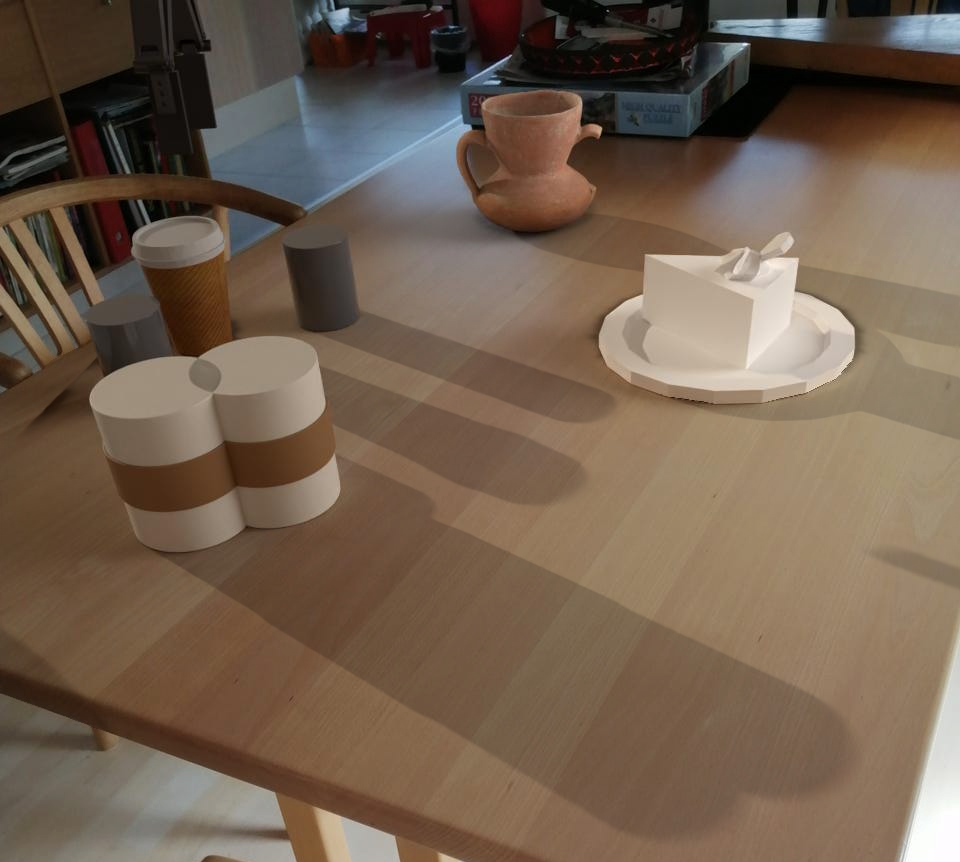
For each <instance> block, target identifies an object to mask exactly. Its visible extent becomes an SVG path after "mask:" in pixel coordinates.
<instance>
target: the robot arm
mask: <svg viewBox="0 0 960 862" xmlns="http://www.w3.org/2000/svg"><path fill="white" fill-rule="evenodd" d="M128 1H129V11H130V19H131V30H132V39H133V48H134V49H133V50H134V60H131V61H132V68H133V70H134V73H135V75H136V74H144V76H145V80H146V85H147V91H148V96H149V100H150V106H151V111H152V115H153V120H154V125H155V130H156V134H157V140H158V145H159V149H160V154H161V157H164V156H165V157H166V156H180V155H193V154H194V147H193V142H192V137H191V133H190V131H193V130H212V129H217V128H218V125H217V119H216V112H215V108H214V101H213V95H212V88H211V83H210V77H209V72H208V67H207V60H206V54H205V53H208V52H209V53H211V52H212V50H213V47H212V41H211V39H209V38H208V39H207V33H206V32H205V28H204V24H203V20H202V16H201V12H200V8H199V4H198V1H197V0H128ZM174 46H175V49H176V51H177V53H178V54H175V55H174ZM174 58H175V61H174ZM175 63H176V69H177V70H175Z"/></svg>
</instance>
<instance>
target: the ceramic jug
mask: <svg viewBox="0 0 960 862" xmlns="http://www.w3.org/2000/svg"><path fill="white" fill-rule="evenodd" d="M480 109H481V116H482V121H483V126H484V129H485V131H483V130H479V129H471V130H469V131H467V132H464V134H462V135H461V136H460V138H459V139H458V141H457V143H456V149H455V158H456V164H457V168H458V171H459V174H460V175H461V177H462V179H463V181H464V182H465V184H466V186H467V187H468V190H469V191H470V192H471V198H472V201H473V203H474V204H475V206H476V208H477V209H478V211H479V213H480V214H481V215H482V216H483V217H484V218H485V219H486V220H487V221H489V222H490V223H492V224H493V225H495V226H497V227H501V228H503V229H506V230H510V231H514V232H522V233H538V232H547V231H552V230H556V229H560V228H562V227H565V226H568V225H569V224H571V223H574V222H576V220H578V219H579V218H580V217H582V216H583V215H584V214H585V213H586V212H587V210H588V208H589V206H590V205H591V204H592V201H593V199H594V198H595V196H596V194H597V187H596V186H595V185H594V184H592V183H589V181H588V179H587V178H586V177H585V176H584V175H582V174H581V173H580V172H578V171H577V170H576V169H574V168H573V167H571V166H570V165H569V164H567V163H568V159H569V157H570V154H571V152H572V149H573V147H574V146H575V145H576V144H578V143H579V142H580V141H582V140H583V139H585V138H589V137H593V138H595V139H596V140H599V139H600V136H601V135H602V131H603V127H602V126H600V125H598V124H595V123H588V124H585V125H583V126H581V119H582V112H583V100H582V97H581V96H580V95H578V94H577V93H574V92H570V91H565V90H560V91H559V90H555V89H554V90H553V89H538V90H530V91H520V92H515V93H507V94H499V95H494V96H492V97H488V98H486V99H485V100H484V101H482V102H481V105H480ZM472 144H477V145H480V146H481V147H483V148H484V149H486V150H487V151H489V152H491V153H492V154H493V155H494V157H496V160H497V162H498V164H499V168H498V169H497V170H496V171H495V172H494V173H493V174H492V175H491V176H489V177H488V178H487V179H486V180H485V181H484V182H483V183H482V184H481V186H480V187H479V186H478V184H477V182H476V180H475V178H474V176H473V173H472V172H471V168H470V166H469V162H468V148H469V147H470V145H472Z"/></svg>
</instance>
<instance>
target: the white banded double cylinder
mask: <svg viewBox="0 0 960 862" xmlns="http://www.w3.org/2000/svg"><path fill="white" fill-rule="evenodd" d="M174 356H175V355H174ZM319 363H320V362H319V358H318V354H317V351H316V349H315V348H314V347H313V346H312V345H311V344H309V343H308V342H306V341H303V340H301V339H299V338H293V337H290V336H289V337H288V336H280V335H279V336H278V335H263V336H262V335H261V336H252V337H246V338H242V339H235V340H232V342H229V343H226V344H223V345H220V346H218V347H216V348H213V349H211V350H209V351H207V352H206V353H204V354H203V355H199V357H194V356H184V355H183V356H181V355H180V356H179V355H177V356H175V357H163V358H156V359H150V360H146V361H141V362H138V363H134V364H132V365H129V366H126V367H124V368H121V369H119V370H117V371H115V372H113V373H111V374H109V375H108V376H106V377H105V378H104V377H103V378H102V379H101V380H99V381H98V382H97V383H96V384H95V385H94V387H93V388H92V390H91V392H90V394H89V405H90V407H91V410H92V413H93V416H94V419H95V422H96V424H97V427H98V430H99V434H100V436H101V440H102V449H103V454H104V456H105V460H106V461H107V465H108V467H109V471H110V473H111V476H112V479H113V482H114V485H115V488H116V491H117V495H118V496H119V498H120V499H121V500H122V501H123V503H124V506H125V509H126V512H127V514H128V515H127V516H128V517H129V521H130V524H131V525H132V526H131V527H132V528H133V533H134V535H135V537H136V539H137V540H138V541H139V542H140V543H141V544H143V545H144V546H145V547H148V548H150V549H153V550H156V551H159V552H166V553H189V552H196V551H201V550H204V549H208V548H212V547H215V546H217V545H219V544H222V543H224V542H226V541H229V540H230V539H232V538H233V537H235V536H236V535H238V534H240V533H241V532H242V531H243V530H244V529H245V528H246V527H251V528H256V529H280V528H287V527H291V526H296V525H300V524H302V523H305V522H308V521H311V520H313V519H315V518H317V517H319V516H320V515H322V514H323V513H325V512H326V511H328V510H329V509H330V508H331V507H332V506H333V505H334V504H335V503H336V502H337V501H338V498H339V496H340V494H341V490H342V489H341V481H340V480H341V479H340V475H339V470H338V464H337V459H336V446H337V445H336V439H335V433H334V427H333V422H332V416H331V411H330V404H329V400H328V397H327V396H326V394H325V392H324V391H325V390H324V385H323V380H322V375H321V369H320V364H319Z"/></svg>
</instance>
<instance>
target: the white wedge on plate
mask: <svg viewBox="0 0 960 862" xmlns="http://www.w3.org/2000/svg"><path fill="white" fill-rule="evenodd" d="M794 242H795V240H794V237H793V236H792V235H791V233H790V231H784V232H782V233H779V234H777V235H776V236H775V237H774V238H773V239H771V241H770V242H768V244H767V245H765V247H764V248H762V249H761V250H760V252H758V251H757V250H754V249H752V248H749V247H748V246H746V247H741V248H734V249H732V250H731V251H730V252H729V253H726V254H723V255H685V254H683V255H681V254H644V265H643V266H644V268H643V285H642V286H643V288H642V290H643V291H642V294H640V295H638V296H634V297H632V298H630V299H627V300H625V301H623V302H622V303H620V305H619V306H617V307H616V308H615V309H613V310H612V311H611V312H609V313H608V314H607V315H605V318H604V320H603V323H602V326H601V328H600V331H599V334H598V348H599V350H600V353H601V356H602V358H603V361H604V362H605V364H606V366H607V368H609V369H610V370H612V372H614V373H616V374H617V375H618V376H619V377H621V378H623V379H624V380H625V382H627V383H629V384H630V385H634V386H636V387H638V388H642V389H644V390H647V391H650V392H652V393H655V394H658V395H661V394H662V395H661V396H663V397H666V396H667V397H666V398H671V397H675V398H674V399H678V398H684V399H689V400H688V401H691V400H695V401H694V402H698V401H704V402H708V403H707V404H711V403H713V404H712V405H724V404H725V405H726V404H727V405H728V404H729V405H731V404H763V403H769V402H773V401H772V400H774V401H777V400H776V399H779V398H784V397H788V398H790V397H789V396H793V397H795V396H794V395H798V394H803V393H806V392H808V393H810V392H809V391H811V390H813V389H815V388H817V387H819V386H821V385H823V384H825V383H827V382H829V383H831V382H833V381H832V380H834V379H836V378H837V377H838V376H839V375H840V376H841V374H842V373H843V372H844V371H845V370H846V369H847V368H848V366H849V365H850V364H851V363H852V362H853V360H854V354H855V349H856V341H855V340H856V339H855V338H856V337H855V336H856V334H855V326H853V324H852V323H851V322H850V321H849V320H848V319H847V318H846V317H845V316H844V315H843V313H842V312H841V311H840V309H838V308H836V307H833V306H832V305H830V304H828V303H826V302H824V301H822V300H821V299H818V298H817V297H814V296H812V295H811V294H807V293H804V292H800V291H796V290H795V289H796V284H797V283H796V282H797V274H798V269H799V268H798V267H799V261H800V258H799V257H780V256H782V255H785V254H786V253H787V252H788V251H789V250H790V249H791V247H792V246H793V245H794ZM852 359H853V360H852ZM850 362H851V363H850ZM849 363H850V364H849ZM848 364H849V365H848ZM847 365H848V366H847ZM845 368H846V369H845ZM844 369H845V370H844ZM843 370H844V371H843ZM842 371H843V372H842ZM841 372H842V373H841ZM840 376H839V377H840ZM839 377H838V378H839ZM838 378H837V379H838ZM837 379H836V380H837ZM830 381H831V382H830ZM834 381H835V380H834ZM827 384H828V383H827ZM825 385H826V384H825ZM823 386H824V385H823ZM821 387H822V386H821ZM819 388H820V387H819ZM817 389H818V388H817ZM815 390H816V389H815ZM813 391H814V390H813ZM811 392H812V391H811ZM806 394H807V393H806ZM803 395H804V394H803ZM798 396H799V395H798ZM684 399H683V400H684ZM784 399H785V398H784ZM696 400H697V401H696ZM779 400H780V399H779ZM768 401H769V402H768ZM704 402H703V403H704Z"/></svg>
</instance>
